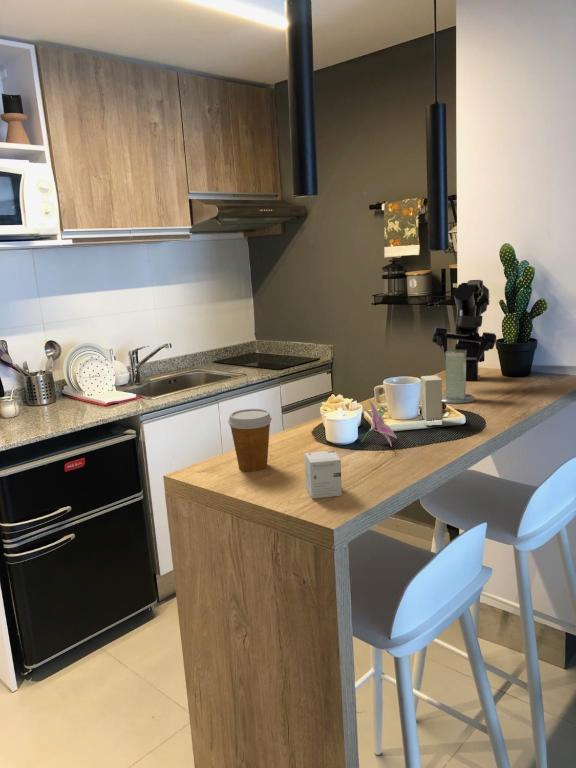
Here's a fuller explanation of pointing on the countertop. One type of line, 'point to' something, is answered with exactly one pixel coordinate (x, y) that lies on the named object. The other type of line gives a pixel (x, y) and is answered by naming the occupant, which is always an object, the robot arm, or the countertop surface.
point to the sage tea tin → (455, 374)
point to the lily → (379, 424)
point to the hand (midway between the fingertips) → (461, 361)
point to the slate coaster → (467, 399)
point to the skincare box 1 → (323, 474)
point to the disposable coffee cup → (251, 437)
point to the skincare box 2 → (431, 397)
